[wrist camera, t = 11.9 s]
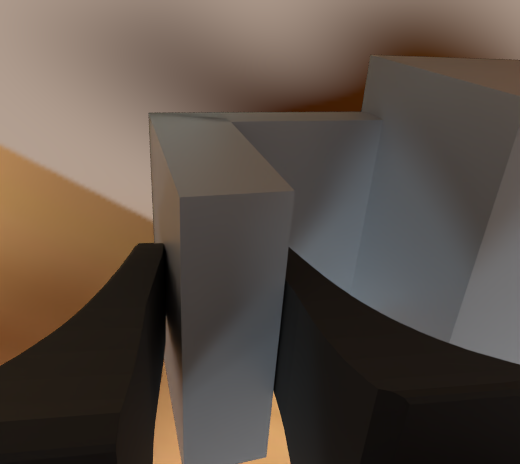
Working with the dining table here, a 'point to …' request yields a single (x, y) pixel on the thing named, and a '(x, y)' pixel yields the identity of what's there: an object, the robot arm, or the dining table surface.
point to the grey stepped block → (334, 230)
